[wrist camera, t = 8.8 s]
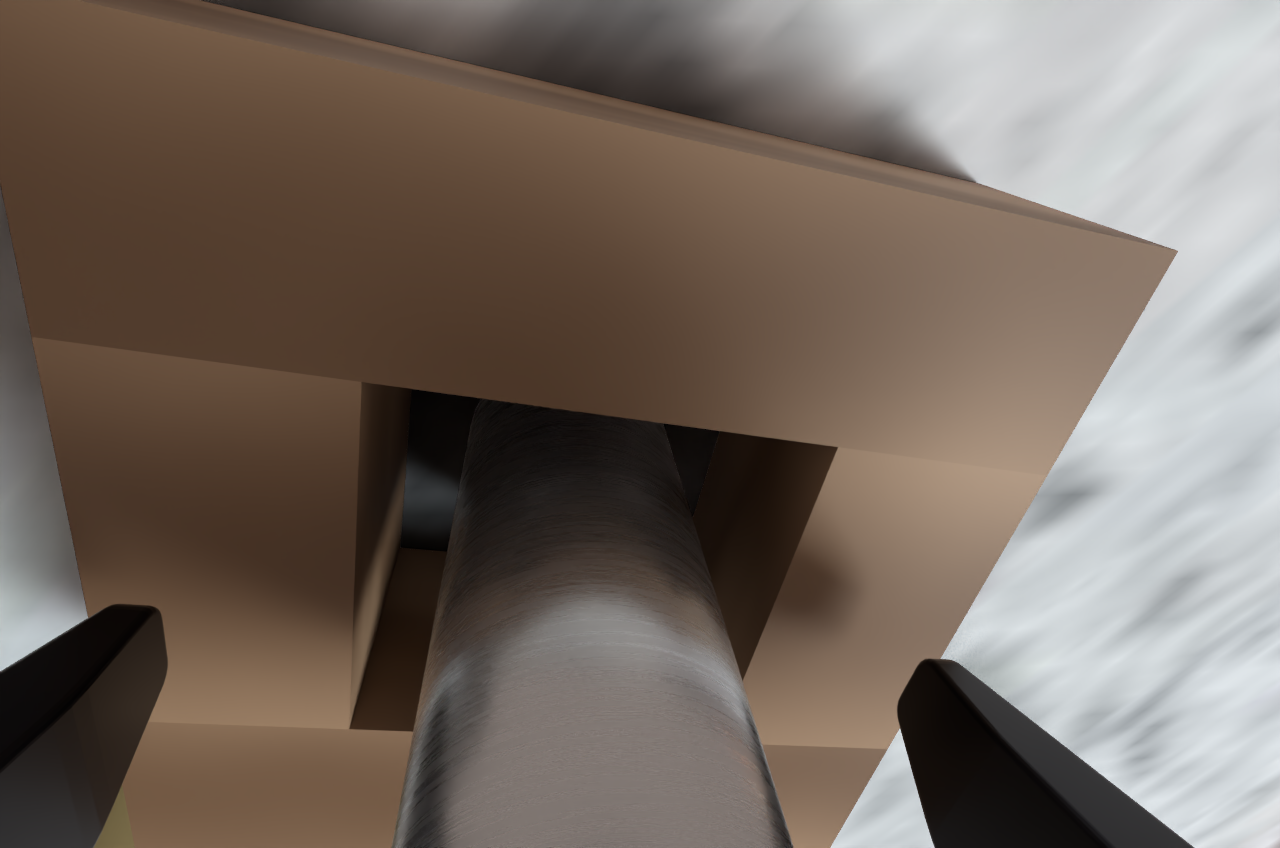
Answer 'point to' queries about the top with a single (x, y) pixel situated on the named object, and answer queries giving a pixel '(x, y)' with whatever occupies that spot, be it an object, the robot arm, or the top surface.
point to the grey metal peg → (580, 656)
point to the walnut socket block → (504, 380)
